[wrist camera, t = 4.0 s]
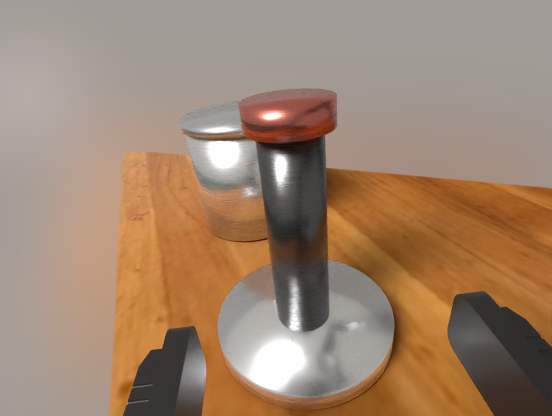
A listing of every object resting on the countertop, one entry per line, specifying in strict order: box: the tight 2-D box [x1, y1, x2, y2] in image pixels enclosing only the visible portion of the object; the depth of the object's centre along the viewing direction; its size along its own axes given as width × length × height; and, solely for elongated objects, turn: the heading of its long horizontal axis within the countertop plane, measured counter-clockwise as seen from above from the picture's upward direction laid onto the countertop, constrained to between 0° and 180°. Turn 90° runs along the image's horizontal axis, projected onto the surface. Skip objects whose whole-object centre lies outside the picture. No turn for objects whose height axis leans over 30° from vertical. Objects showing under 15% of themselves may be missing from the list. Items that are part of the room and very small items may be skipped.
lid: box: [218, 89, 394, 410], centre depth 17 cm, size 10×10×13 cm
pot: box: [180, 101, 268, 241], centre depth 30 cm, size 9×9×10 cm
